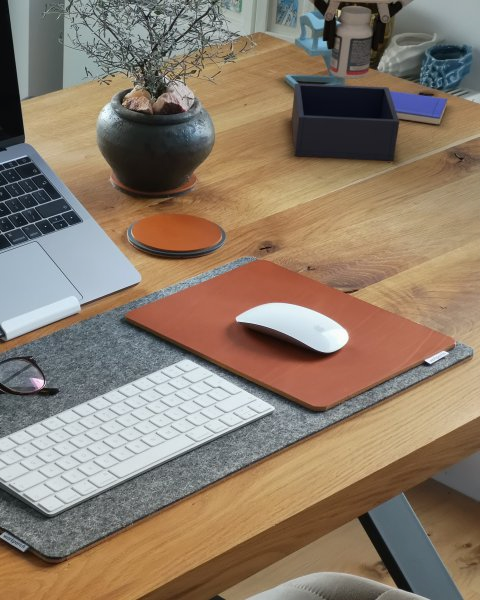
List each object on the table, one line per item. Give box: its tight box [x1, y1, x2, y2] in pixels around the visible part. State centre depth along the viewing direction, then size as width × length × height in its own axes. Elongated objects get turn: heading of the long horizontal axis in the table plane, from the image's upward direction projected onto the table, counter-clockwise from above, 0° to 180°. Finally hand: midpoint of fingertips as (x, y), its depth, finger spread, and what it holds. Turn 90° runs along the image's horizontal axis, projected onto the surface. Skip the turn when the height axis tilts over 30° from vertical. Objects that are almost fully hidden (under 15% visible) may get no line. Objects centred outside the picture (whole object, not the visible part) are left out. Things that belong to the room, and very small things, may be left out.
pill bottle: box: [330, 5, 374, 80], centre depth 152 cm, size 5×5×9 cm
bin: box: [291, 83, 400, 162], centre depth 158 cm, size 13×13×6 cm
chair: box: [284, 10, 346, 90], centre depth 175 cm, size 8×8×12 cm
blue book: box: [389, 90, 448, 125], centre depth 169 cm, size 2×8×12 cm
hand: (352, 46), depth 152 cm, fingers closed on pill bottle, 5 cm apart
